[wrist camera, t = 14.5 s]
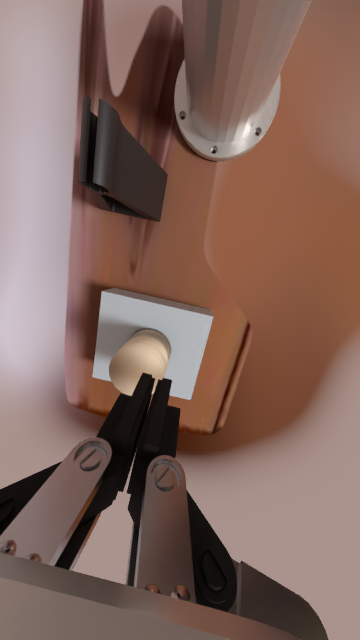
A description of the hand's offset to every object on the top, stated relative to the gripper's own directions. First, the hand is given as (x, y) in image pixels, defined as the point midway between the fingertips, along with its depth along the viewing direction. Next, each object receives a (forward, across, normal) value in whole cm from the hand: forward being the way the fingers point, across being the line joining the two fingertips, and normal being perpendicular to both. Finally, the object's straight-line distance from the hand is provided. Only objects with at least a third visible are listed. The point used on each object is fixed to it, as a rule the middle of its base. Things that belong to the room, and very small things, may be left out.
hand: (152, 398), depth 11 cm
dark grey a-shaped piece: (+23, +11, -14) cm, 29 cm away
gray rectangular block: (+22, +3, +7) cm, 23 cm away
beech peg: (+21, +3, +7) cm, 23 cm away
